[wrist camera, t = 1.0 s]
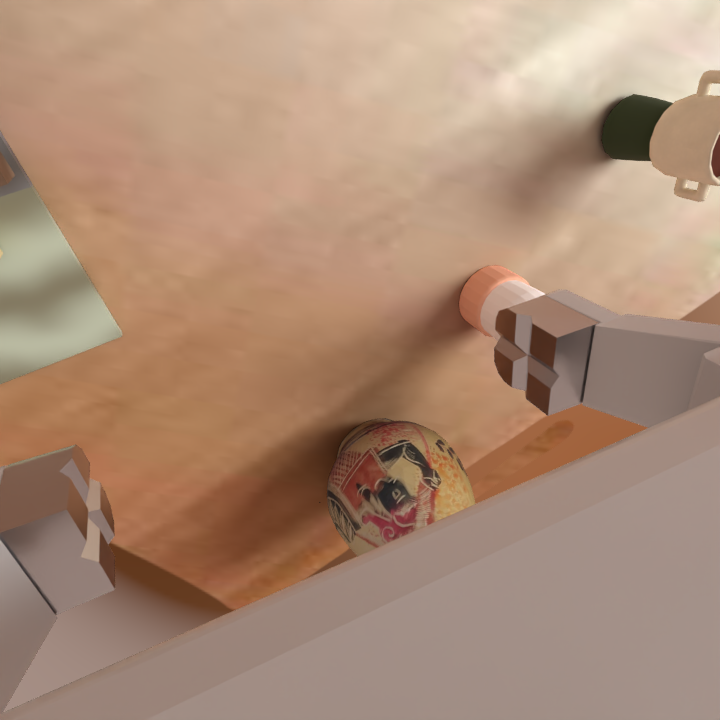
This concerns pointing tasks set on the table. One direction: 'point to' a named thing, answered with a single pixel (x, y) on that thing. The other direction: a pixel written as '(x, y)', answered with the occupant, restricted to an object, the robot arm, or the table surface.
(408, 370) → the table surface
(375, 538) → the ceramic jug
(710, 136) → the cream green tall piece
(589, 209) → the table surface
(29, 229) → the shelf lane
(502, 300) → the pepper shaker
